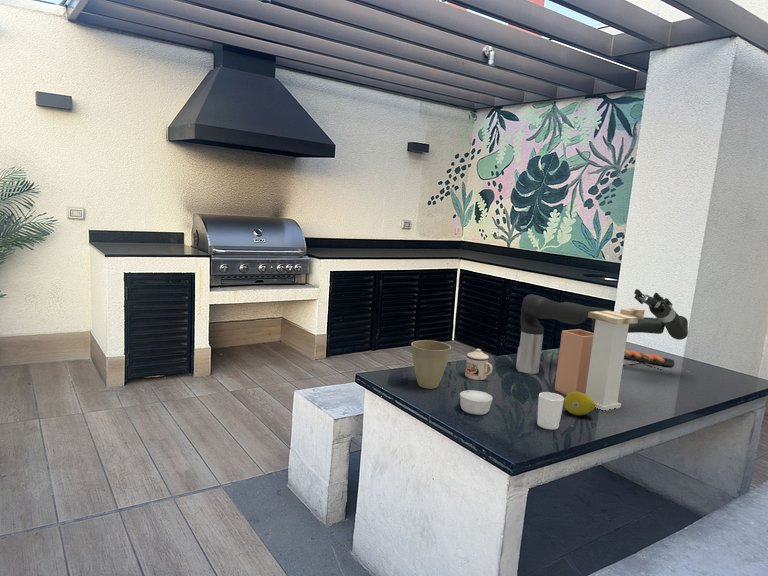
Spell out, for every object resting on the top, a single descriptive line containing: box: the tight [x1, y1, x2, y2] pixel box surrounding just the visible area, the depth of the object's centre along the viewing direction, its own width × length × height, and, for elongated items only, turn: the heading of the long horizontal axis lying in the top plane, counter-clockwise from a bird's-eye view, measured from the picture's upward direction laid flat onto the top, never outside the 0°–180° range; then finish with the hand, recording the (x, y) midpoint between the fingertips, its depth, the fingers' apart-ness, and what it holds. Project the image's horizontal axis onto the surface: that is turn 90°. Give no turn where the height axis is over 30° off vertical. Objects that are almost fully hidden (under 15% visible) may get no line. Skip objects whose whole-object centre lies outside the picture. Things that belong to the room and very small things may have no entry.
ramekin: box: [459, 389, 493, 416], centre depth 191 cm, size 11×11×5 cm
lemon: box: [563, 391, 596, 416], centre depth 193 cm, size 11×8×8 cm
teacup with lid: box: [464, 348, 493, 381], centre depth 226 cm, size 12×9×12 cm
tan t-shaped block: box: [588, 307, 645, 325], centre depth 204 cm, size 22×12×4 cm, turn 121°
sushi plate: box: [623, 349, 675, 371], centre depth 272 cm, size 29×30×4 cm
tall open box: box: [554, 328, 594, 396], centre depth 216 cm, size 10×10×24 cm
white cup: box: [536, 391, 565, 431], centre depth 181 cm, size 8×8×10 cm
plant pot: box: [411, 339, 452, 390], centre depth 211 cm, size 15×15×16 cm
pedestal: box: [586, 320, 629, 411], centre depth 204 cm, size 10×10×32 cm
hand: (645, 292), depth 229 cm, fingers open, 8 cm apart
